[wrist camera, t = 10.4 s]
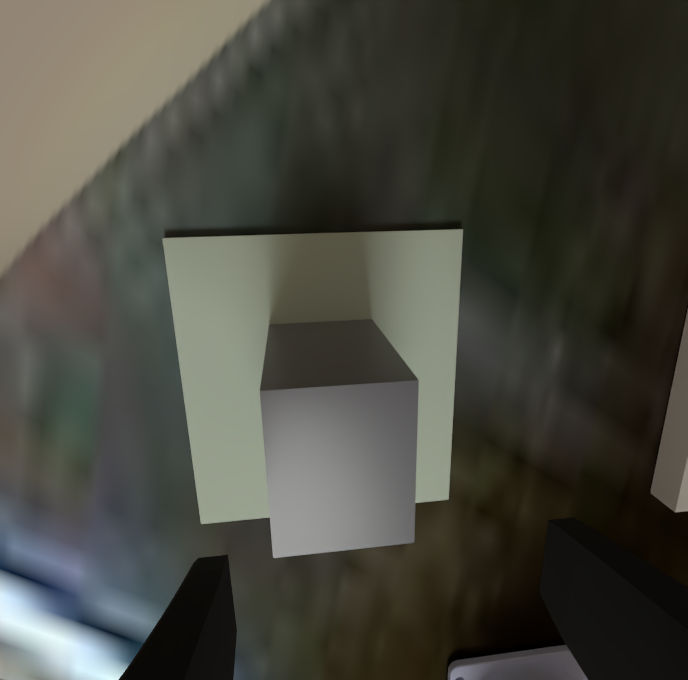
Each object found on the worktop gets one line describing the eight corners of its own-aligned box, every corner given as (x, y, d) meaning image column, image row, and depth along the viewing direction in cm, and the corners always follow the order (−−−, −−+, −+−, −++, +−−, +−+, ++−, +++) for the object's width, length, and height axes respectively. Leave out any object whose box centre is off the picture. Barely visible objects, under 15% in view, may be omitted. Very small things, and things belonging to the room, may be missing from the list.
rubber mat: (446, 495, 21) (448, 499, 20) (202, 519, 20) (200, 524, 19) (460, 228, 17) (463, 229, 17) (164, 237, 16) (162, 238, 16)
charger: (372, 433, 19) (414, 542, 13) (277, 441, 19) (273, 557, 12) (372, 319, 18) (419, 380, 11) (268, 324, 17) (259, 391, 11)
